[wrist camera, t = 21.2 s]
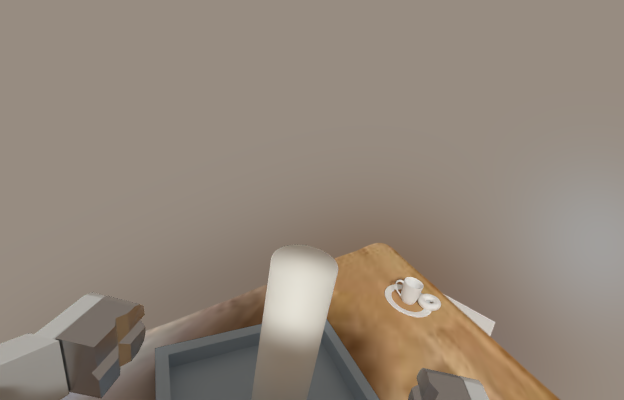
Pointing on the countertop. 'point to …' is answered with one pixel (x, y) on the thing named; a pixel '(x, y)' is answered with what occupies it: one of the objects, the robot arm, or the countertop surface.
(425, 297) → the teacup and saucer
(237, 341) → the tray
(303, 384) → the dowel pin
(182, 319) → the countertop surface
